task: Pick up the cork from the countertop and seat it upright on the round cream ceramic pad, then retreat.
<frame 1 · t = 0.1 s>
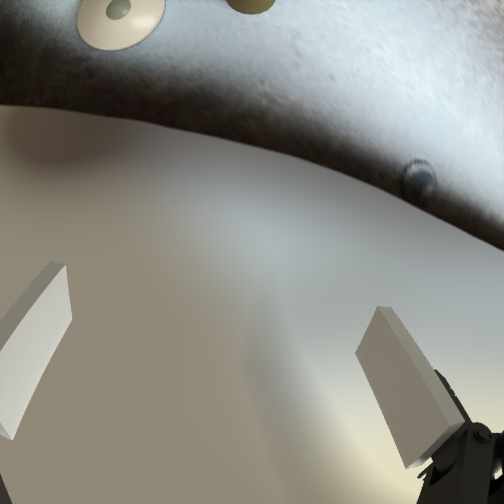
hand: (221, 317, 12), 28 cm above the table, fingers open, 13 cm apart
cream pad: (121, 11, 27), on the table
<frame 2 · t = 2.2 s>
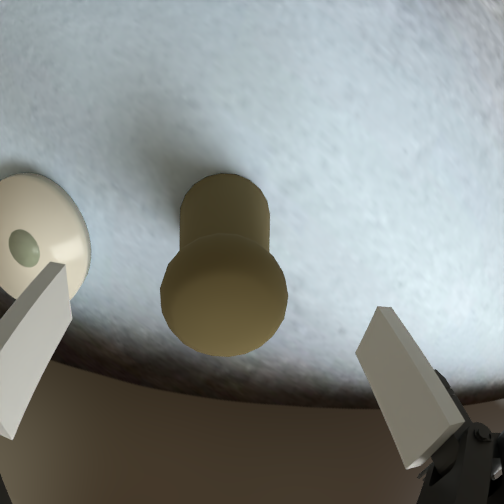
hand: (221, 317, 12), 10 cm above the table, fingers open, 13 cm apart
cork: (224, 216, 21), on the table
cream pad: (32, 240, 21), on the table
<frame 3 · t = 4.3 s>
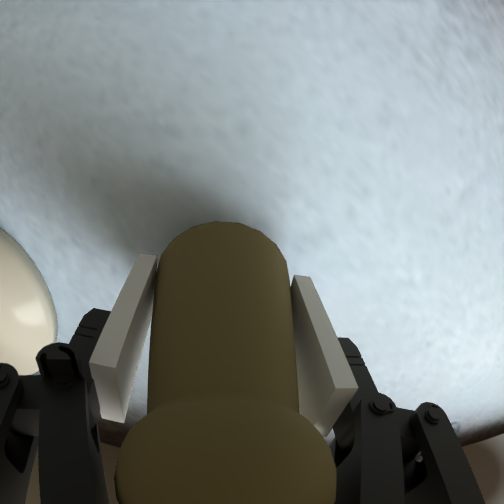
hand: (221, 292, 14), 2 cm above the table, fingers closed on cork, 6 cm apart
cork: (222, 282, 14), point 1 cm above the table, touching gripper
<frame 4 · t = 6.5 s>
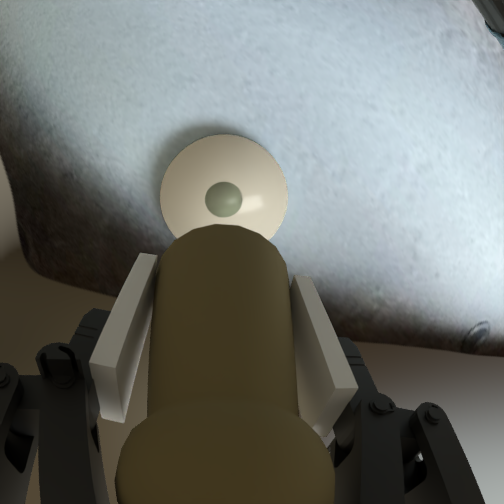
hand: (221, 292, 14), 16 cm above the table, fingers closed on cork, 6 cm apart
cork: (222, 284, 14), point 15 cm above the table, touching gripper
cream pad: (223, 195, 28), on the table
when the fingers open (3 cm above the table, at t = 9.0 s): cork drops 1 cm, resting on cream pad.
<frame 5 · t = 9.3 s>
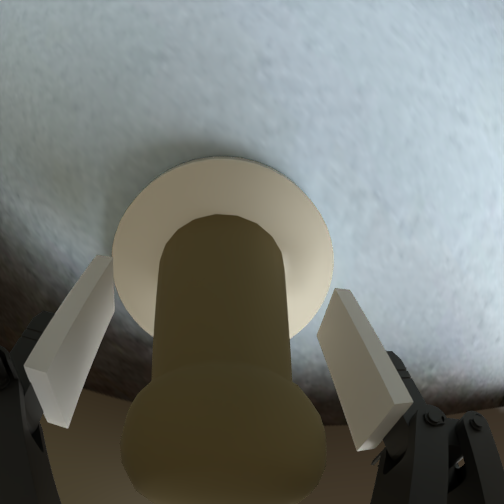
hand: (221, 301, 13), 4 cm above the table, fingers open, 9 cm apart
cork: (221, 272, 15), point 1 cm above the table, touching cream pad
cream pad: (222, 262, 17), on the table
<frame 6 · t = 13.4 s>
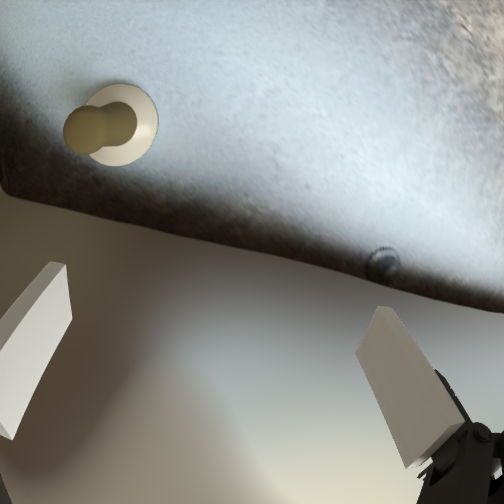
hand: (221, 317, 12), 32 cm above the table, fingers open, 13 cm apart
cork: (116, 123, 36), point 1 cm above the table, touching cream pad
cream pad: (119, 124, 37), on the table
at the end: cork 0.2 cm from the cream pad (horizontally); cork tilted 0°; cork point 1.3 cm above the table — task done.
